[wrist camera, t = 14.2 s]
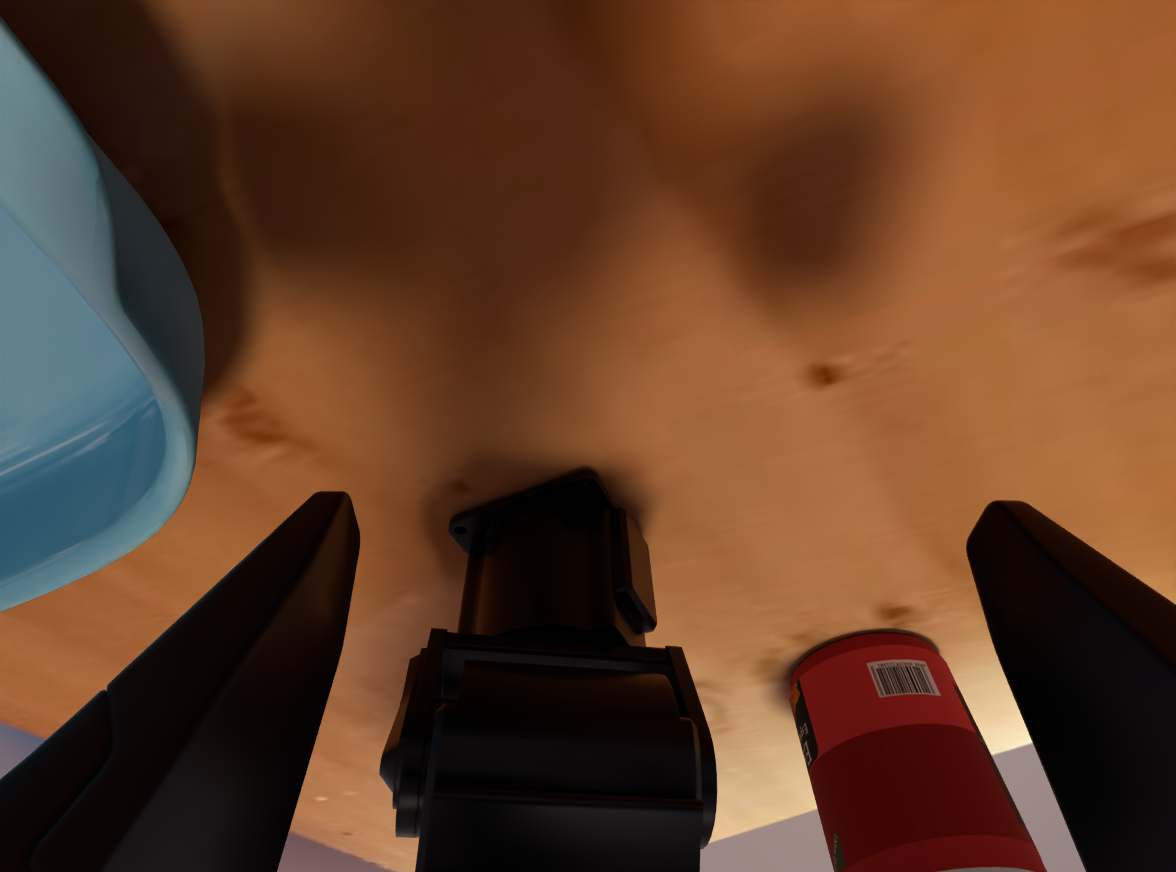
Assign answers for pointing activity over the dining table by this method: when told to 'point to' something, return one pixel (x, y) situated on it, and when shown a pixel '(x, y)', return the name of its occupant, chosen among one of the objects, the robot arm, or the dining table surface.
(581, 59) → the dining table surface
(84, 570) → the casserole dish
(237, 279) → the dining table surface
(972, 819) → the canned food
